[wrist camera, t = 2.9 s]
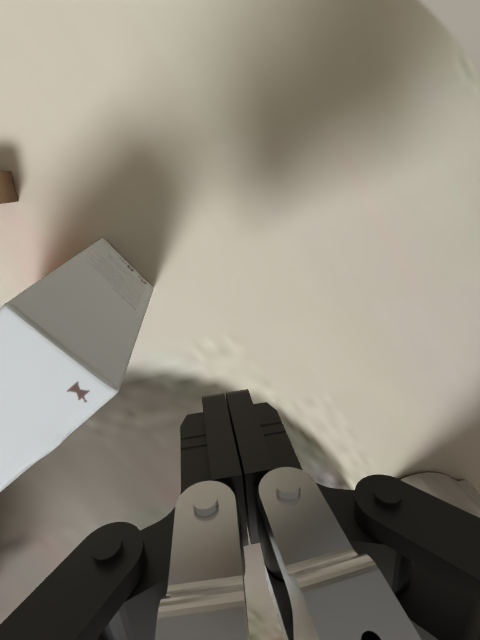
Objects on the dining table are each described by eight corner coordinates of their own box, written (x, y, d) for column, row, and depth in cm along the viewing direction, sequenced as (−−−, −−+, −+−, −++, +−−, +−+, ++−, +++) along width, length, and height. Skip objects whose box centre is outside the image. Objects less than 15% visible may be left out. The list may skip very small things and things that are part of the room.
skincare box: (102, 234, 21) (7, 297, 10) (155, 287, 22) (125, 393, 11) (29, 302, 22) (-133, 430, 11) (86, 349, 23) (-5, 504, 12)
